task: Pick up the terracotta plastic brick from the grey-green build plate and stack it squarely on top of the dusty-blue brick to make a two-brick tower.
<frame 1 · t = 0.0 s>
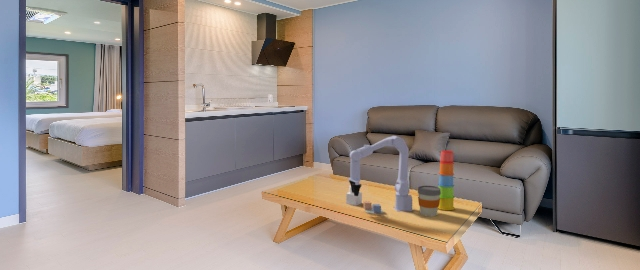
hand: (355, 194, 213), 10 cm above the table, fingers open, 7 cm apart
blue brick: (376, 211, 211), resting on build plate
stacking cups: (445, 208, 219), on the table
terracotta brick: (367, 208, 217), resting on build plate
reusable coffee cup: (428, 214, 209), on the table
build plate: (373, 210, 214), on the table
medicine bottle: (354, 204, 228), on the table
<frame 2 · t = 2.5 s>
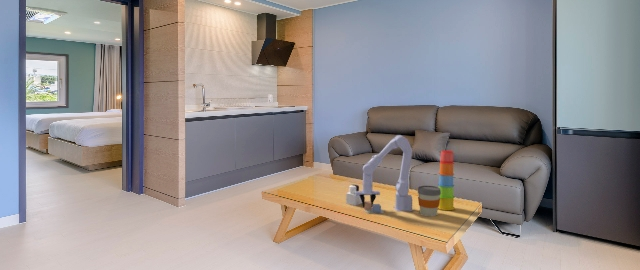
hand: (367, 206, 217), 1 cm above the table, fingers closed on terracotta brick, 4 cm apart
terracotta brick: (367, 208, 217), resting on build plate, touching gripper
everything else where it was.
when the fingers open (6 cm above the table, at t = 4.9 s): terracotta brick stays where it is, resting on blue brick.
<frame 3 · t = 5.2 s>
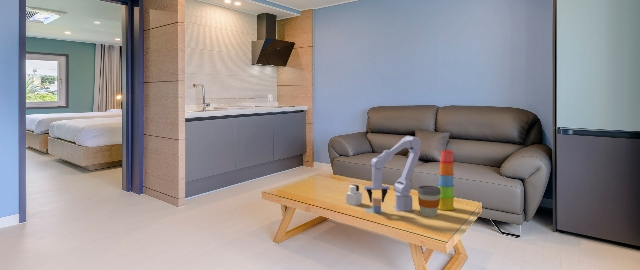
hand: (376, 202, 210), 6 cm above the table, fingers open, 6 cm apart
blue brick: (376, 211, 211), resting on build plate, touching terracotta brick
terracotta brick: (376, 205, 211), point 4 cm above the table, touching blue brick
everything else where it was.
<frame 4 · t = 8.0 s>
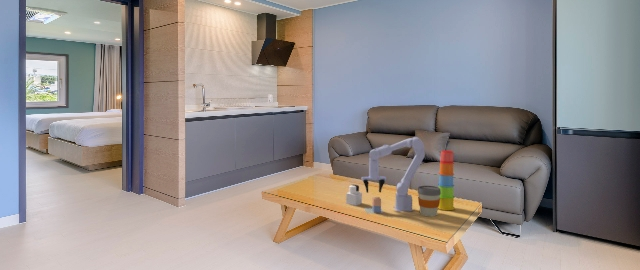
hand: (373, 192, 218), 10 cm above the table, fingers open, 7 cm apart
nothing on the table moved.
at the end: terracotta brick 0.1 cm off-centre on the blue brick, point 4.0 cm above the blue brick's base; terracotta brick tilted 0°; the gripper is holding nothing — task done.
